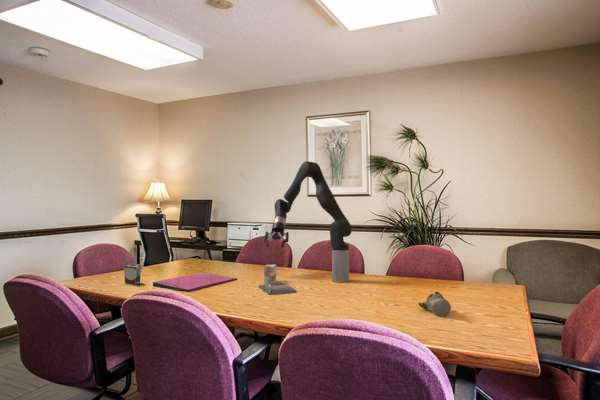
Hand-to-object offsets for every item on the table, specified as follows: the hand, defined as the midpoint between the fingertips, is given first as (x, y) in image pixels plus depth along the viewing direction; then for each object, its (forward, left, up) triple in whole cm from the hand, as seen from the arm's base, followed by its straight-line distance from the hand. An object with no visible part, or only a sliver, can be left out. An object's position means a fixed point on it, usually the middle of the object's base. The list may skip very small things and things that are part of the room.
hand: (274, 246), depth 232 cm
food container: (+72, +26, -18) cm, 78 cm away
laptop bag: (+40, +22, -19) cm, 49 cm away
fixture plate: (-8, +31, -18) cm, 37 cm away
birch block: (0, +12, -18) cm, 21 cm away
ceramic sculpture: (-79, +62, -18) cm, 102 cm away
